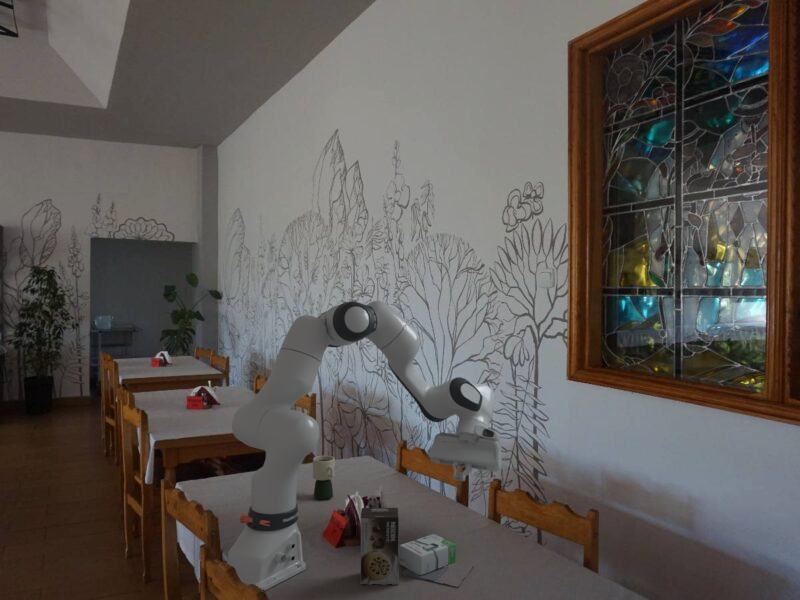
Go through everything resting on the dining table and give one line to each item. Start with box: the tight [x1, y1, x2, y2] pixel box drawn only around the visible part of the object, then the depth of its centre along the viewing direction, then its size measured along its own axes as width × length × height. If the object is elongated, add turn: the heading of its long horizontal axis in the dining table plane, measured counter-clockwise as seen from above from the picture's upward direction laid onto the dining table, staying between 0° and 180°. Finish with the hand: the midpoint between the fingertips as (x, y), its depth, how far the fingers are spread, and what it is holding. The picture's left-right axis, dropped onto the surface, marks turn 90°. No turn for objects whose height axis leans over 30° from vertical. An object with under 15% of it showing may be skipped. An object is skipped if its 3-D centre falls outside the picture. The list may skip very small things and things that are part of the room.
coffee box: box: [359, 507, 400, 586], centre depth 149 cm, size 9×6×16 cm
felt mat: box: [402, 565, 461, 582], centre depth 154 cm, size 12×14×1 cm
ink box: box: [399, 533, 457, 575], centre depth 157 cm, size 9×5×12 cm
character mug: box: [312, 455, 336, 500], centre depth 204 cm, size 11×7×13 cm, turn 38°
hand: (458, 479), depth 169 cm, fingers closed
